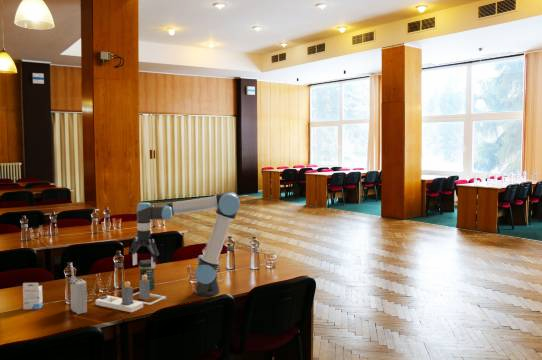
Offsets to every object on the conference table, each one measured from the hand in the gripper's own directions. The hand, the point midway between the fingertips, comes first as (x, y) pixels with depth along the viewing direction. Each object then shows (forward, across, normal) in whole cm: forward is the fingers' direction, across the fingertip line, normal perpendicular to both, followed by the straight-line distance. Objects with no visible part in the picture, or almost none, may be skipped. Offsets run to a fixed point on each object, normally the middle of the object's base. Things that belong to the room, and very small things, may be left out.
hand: (144, 266), depth 267 cm
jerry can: (+20, +20, +30) cm, 41 cm away
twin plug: (+19, -2, +16) cm, 25 cm away
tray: (+20, 0, 0) cm, 20 cm away
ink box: (+20, +45, +38) cm, 62 cm away
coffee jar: (+20, +12, -16) cm, 28 cm away
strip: (+20, +4, +16) cm, 26 cm away
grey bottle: (+19, 0, 0) cm, 19 cm away
